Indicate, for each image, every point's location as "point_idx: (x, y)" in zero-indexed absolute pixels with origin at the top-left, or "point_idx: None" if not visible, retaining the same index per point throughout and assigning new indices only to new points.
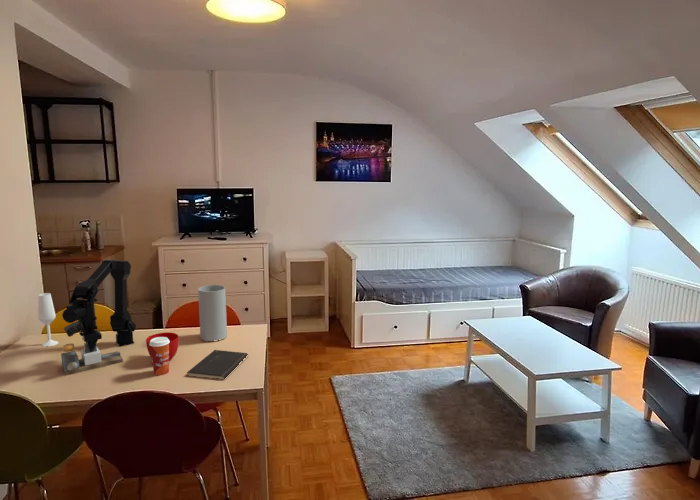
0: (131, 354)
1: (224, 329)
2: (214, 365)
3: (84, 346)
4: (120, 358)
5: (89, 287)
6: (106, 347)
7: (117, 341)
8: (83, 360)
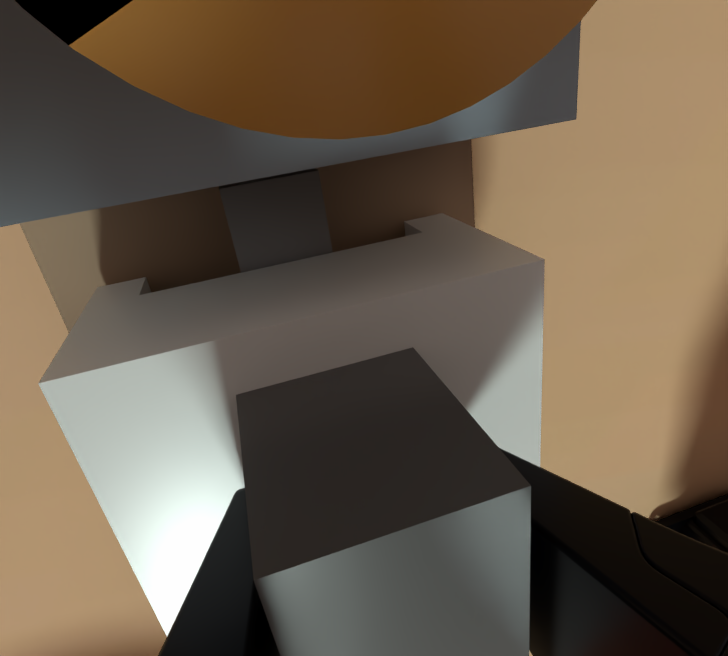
0: None
1: None
2: None
3: (438, 430)
4: None
5: None
6: (714, 416)
7: (722, 536)
8: (274, 260)
